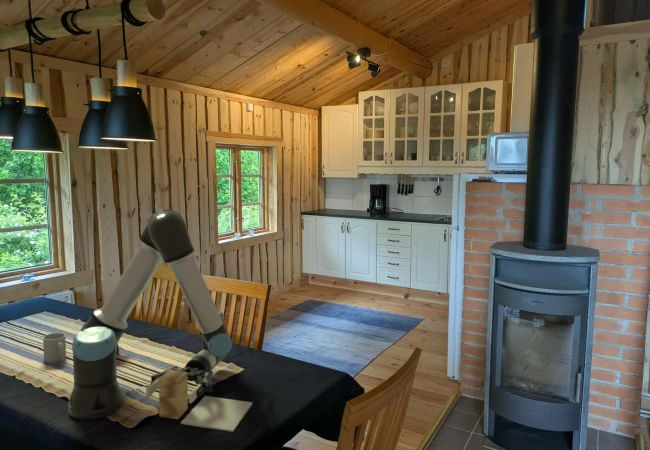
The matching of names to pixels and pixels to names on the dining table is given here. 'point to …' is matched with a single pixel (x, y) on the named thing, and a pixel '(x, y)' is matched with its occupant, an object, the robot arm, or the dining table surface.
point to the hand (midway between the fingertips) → (168, 395)
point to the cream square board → (217, 413)
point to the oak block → (173, 394)
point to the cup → (54, 347)
